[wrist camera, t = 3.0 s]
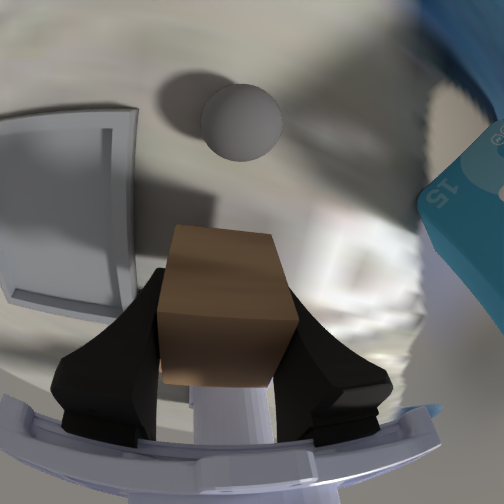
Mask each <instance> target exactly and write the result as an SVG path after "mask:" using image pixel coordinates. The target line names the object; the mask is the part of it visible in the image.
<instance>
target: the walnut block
mask: <svg viewBox="0 0 504 504" xmlns="http://www.w3.org/2000/svg"><path fill="white" fill-rule="evenodd" d="M157 322H158V336H159V348H160V359H161V368H162V377H163V384H173V385H185V386H200V387H222V388H268V386H269V384H270V382H271V380H272V378H273V376H274V374H275V372H276V370H277V367H278V365H279V363H280V361H281V359H282V357H283V355H284V353H285V351H286V349H287V347H288V344H289V342H290V340H291V338H292V336H293V334H294V331H295V329H296V327H297V325H298V322H299V317H298V314H297V311H296V308H295V305H294V302H293V299H292V296H291V293H290V289H289V286H288V283H287V280H286V277H285V274H284V271H283V268H282V265H281V262H280V259H279V256H278V253H277V250H276V247H275V244H274V241H273V238H272V235H271V234H263V233H254V232H245V231H236V230H227V229H218V228H208V227H199V226H189V225H179V224H176V226H175V230H174V234H173V238H172V242H171V247H170V251H169V255H168V260H167V264H166V269H165V273H164V278H163V283H162V288H161V293H160V298H159V303H158V308H157Z"/></svg>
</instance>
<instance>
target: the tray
mask: <svg viewBox="0 0 504 504" xmlns="http://www.w3.org/2000/svg"><path fill="white" fill-rule="evenodd" d="M138 113H139V109H135V108H101V109H77V110H63V111H52V112H42V113H34V114H27V115H20V116H14V117H8V118H3V119H0V286H1V288H2V291H3V293H4V295H5V298H6V300H7V302H8V303H10V304H13V305H17V306H21V307H25V308H29V309H33V310H37V311H42V312H46V313H51V314H55V315H60V316H65V317H70V318H75V319H81V320H86V321H92V322H98V323H104V324H112V323H113V322H114V321H115V320H116V319H117V318H118V317H119V316H120V315H121V314H122V313H123V312H124V311H125V310H126V308H127V307H128V306H129V305H130V304H131V303H132V301H133V300H134V299H135V298H136V297H137V295H138V288H137V276H136V262H135V243H134V167H135V148H136V134H137V123H138Z"/></svg>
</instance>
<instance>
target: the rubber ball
mask: <svg viewBox="0 0 504 504" xmlns="http://www.w3.org/2000/svg"><path fill="white" fill-rule="evenodd" d="M200 126H201V132H202V136H203V138H204V140H205V142H206V144H207V145H208V146H209V148H210V149H211V150H212V151H214V152H215V153H216V154H217V155H219V156H221V157H223V158H225V159H228V160H231V161H238V162H244V161H251V160H254V159H257V158H259V157H261V156H263V155H265V154H266V153H267V152H269V151H270V150H271V149H272V148H273V147H274V145H275V144H276V142H277V141H278V139H279V137H280V134H281V130H282V115H281V111H280V109H279V106H278V104H277V103H276V101H275V100H274V99H273V97H272V96H271V95H270V94H268V93H267V92H266V91H264V90H263V89H261V88H259V87H256V86H253V85H249V84H235V85H230V86H227V87H225V88H222V89H221V90H219V91H217V92H216V93H215V94H213V95H212V96H211V97H210V99H209V100H208V101H207V103H206V104H205V106H204V108H203V111H202V114H201V120H200Z"/></svg>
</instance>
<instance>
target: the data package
mask: <svg viewBox="0 0 504 504" xmlns="http://www.w3.org/2000/svg"><path fill="white" fill-rule="evenodd" d="M417 209H418V212H419V214H420V216H421V219H422V221H423V223H424V225H425V227H426V230H427V232H428V235H429V237H430V240H431V242H432V244H433V247H434V249H435V251H436V252H437V253H438V254H439V255H440V256H441V257H442V259H444V261H445V262H446V263H447V264H448V265H449V266H450V267H451V269H452V270H453V271H454V272H455V273H456V274H457V275H458V277H459V278H460V279H461V280H462V281H463V283H464V284H465V285H466V286H467V287H468V289H469V290H470V291H471V292H472V293H473V295H474V296H475V297H476V298H477V300H478V301H479V302H480V304H481V305H482V306H483V308H484V309H485V310H486V311H487V313H488V314H489V315H490V317H491V318H492V320H493V321H494V322H495V324H496V325H497V327H498V328H499V330H500V331H501V332H502V334H503V335H504V119H502V120H498V121H495V122H493V123H492V124H491V125H490V126H489V127H488V128H487V129H486V130H485V131H484V132H483V133H482V134H481V135H480V136H479V137H478V138H477V139H476V140H475V141H474V142H473V143H472V144H471V145H470V146H469V147H468V148H467V149H466V150H465V151H464V152H463V153H462V154H461V155H460V156H459V157H458V158H457V159H456V160H455V161H454V162H453V163H452V164H451V165H450V166H449V167H447V169H445V170H444V171H443V172H442V173H441V174H440V175H439V176H438V177H437V178H436V179H435V180H433V181H432V182H431V183H430V184H429V185H428V186H427V187H426V188H425V189H424V190H423V191H422V192H421V193H420V195H419V197H418V200H417Z"/></svg>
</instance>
